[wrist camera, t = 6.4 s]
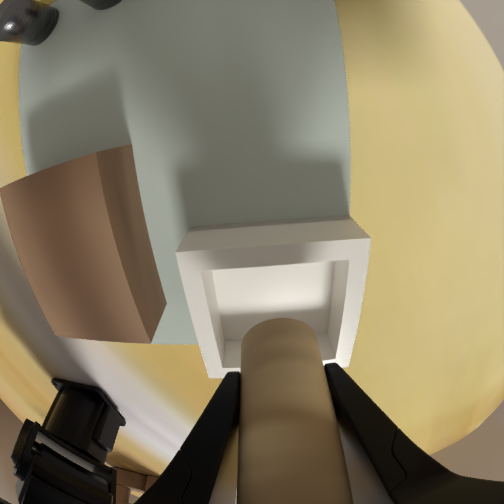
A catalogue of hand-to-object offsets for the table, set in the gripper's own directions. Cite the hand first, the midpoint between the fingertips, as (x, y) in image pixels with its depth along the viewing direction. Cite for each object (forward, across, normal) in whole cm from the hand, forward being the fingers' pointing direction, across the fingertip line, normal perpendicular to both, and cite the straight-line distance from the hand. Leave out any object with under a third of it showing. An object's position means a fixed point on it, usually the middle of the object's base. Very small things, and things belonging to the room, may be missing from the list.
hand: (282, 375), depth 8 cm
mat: (+6, +4, -7) cm, 10 cm away
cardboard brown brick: (+5, +8, -4) cm, 10 cm away
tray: (+5, 0, 0) cm, 5 cm away
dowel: (+1, 0, 0) cm, 1 cm away
